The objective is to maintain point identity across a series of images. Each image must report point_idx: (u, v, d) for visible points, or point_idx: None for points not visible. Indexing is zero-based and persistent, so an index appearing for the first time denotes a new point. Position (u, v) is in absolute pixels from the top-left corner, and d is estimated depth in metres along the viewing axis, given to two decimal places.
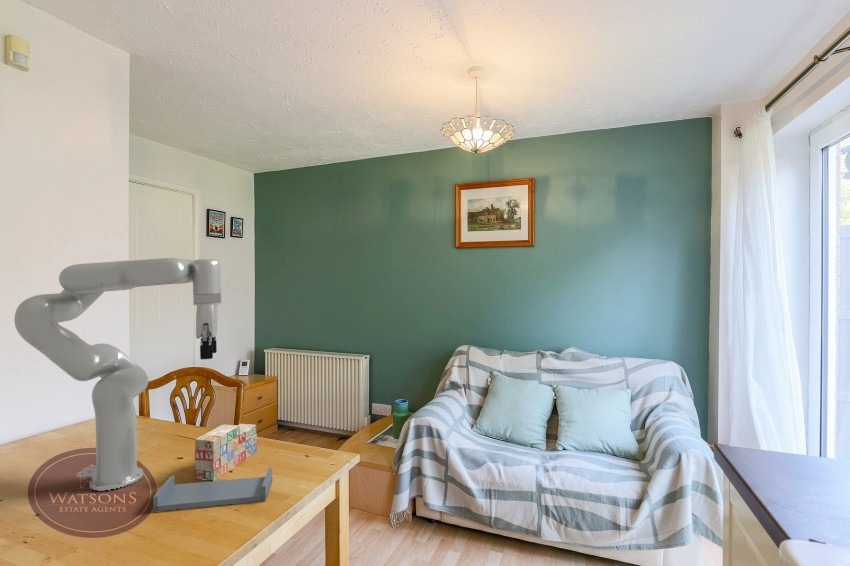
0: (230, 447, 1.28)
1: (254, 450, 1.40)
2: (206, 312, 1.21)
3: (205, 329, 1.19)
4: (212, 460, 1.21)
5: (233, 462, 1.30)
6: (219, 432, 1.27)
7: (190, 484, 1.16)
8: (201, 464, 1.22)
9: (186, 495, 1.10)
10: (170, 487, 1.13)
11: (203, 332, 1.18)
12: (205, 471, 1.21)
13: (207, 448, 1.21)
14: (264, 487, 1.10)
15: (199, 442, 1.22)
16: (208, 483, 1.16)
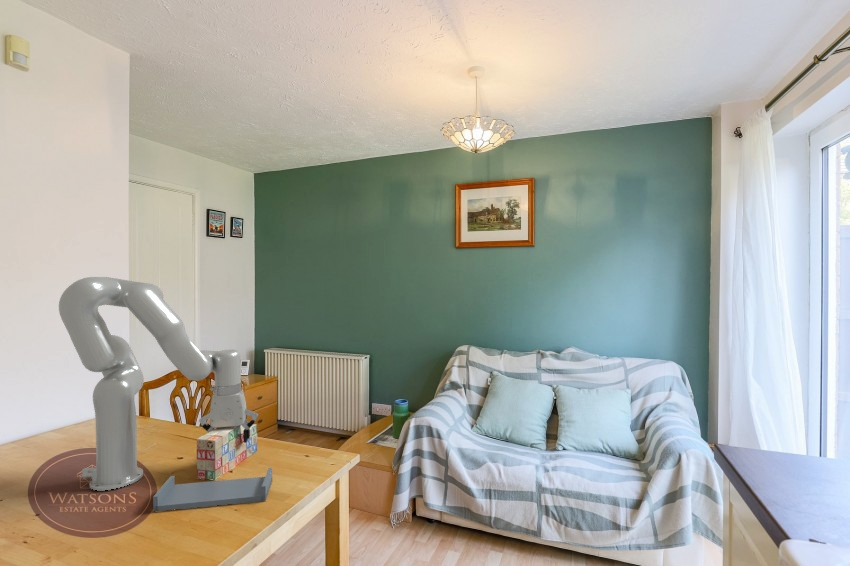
0: (231, 446, 1.28)
1: (255, 450, 1.41)
2: (244, 398, 1.33)
3: (253, 412, 1.33)
4: (214, 460, 1.21)
5: (234, 462, 1.30)
6: (220, 432, 1.27)
7: (190, 484, 1.16)
8: (203, 464, 1.22)
9: (186, 495, 1.10)
10: (170, 487, 1.13)
11: (257, 414, 1.33)
12: (207, 471, 1.22)
13: (209, 448, 1.21)
14: (264, 487, 1.10)
15: (201, 442, 1.22)
16: (208, 483, 1.16)
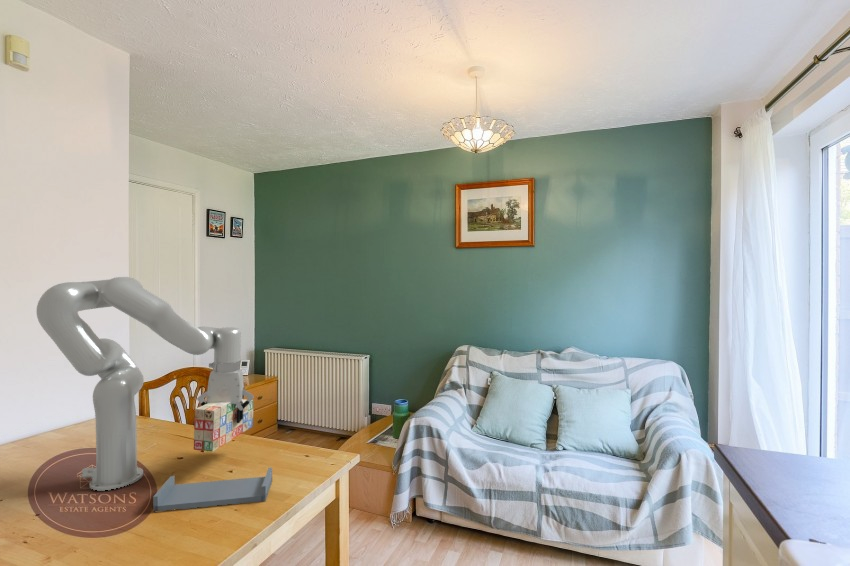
0: (228, 419, 1.28)
1: (250, 425, 1.40)
2: (242, 377, 1.32)
3: (250, 393, 1.33)
4: (212, 430, 1.21)
5: (231, 434, 1.30)
6: (219, 403, 1.27)
7: (190, 484, 1.16)
8: (200, 434, 1.21)
9: (186, 495, 1.10)
10: (170, 487, 1.13)
11: (253, 396, 1.33)
12: (204, 441, 1.21)
13: (207, 418, 1.21)
14: (264, 487, 1.10)
15: (199, 412, 1.21)
16: (208, 483, 1.16)
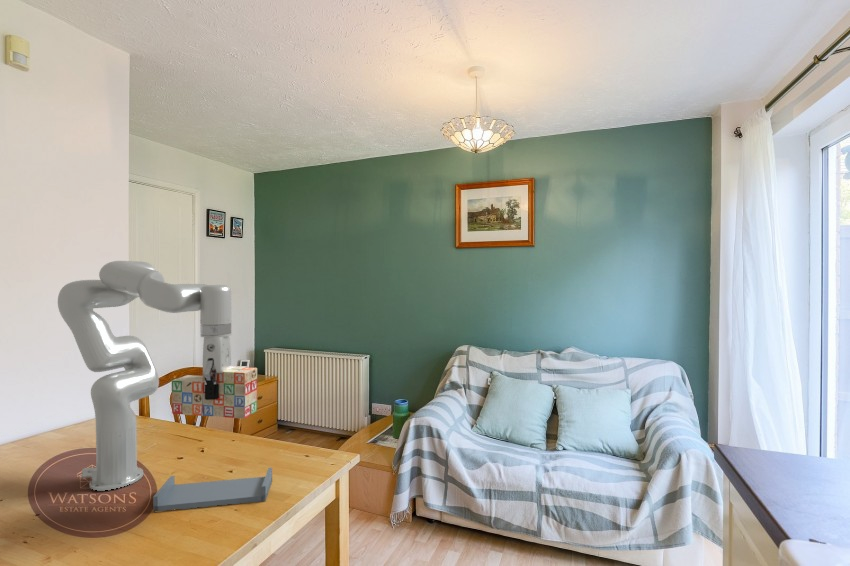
0: None
1: None
2: None
3: None
4: (256, 388, 1.14)
5: None
6: (233, 368, 1.13)
7: (190, 484, 1.16)
8: (249, 398, 1.11)
9: (186, 495, 1.10)
10: (170, 487, 1.13)
11: None
12: (251, 404, 1.12)
13: (253, 378, 1.12)
14: (264, 487, 1.10)
15: (247, 374, 1.10)
16: (208, 483, 1.16)
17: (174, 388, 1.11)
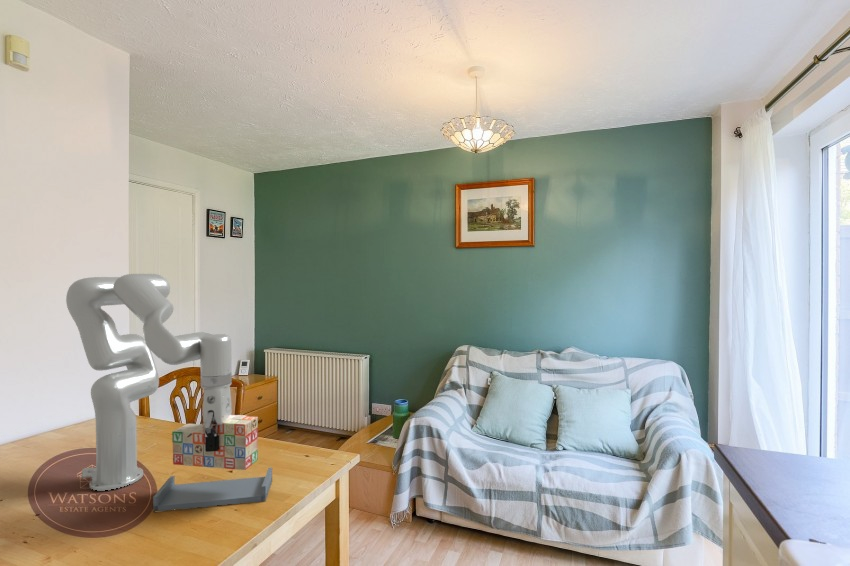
0: None
1: None
2: None
3: None
4: (257, 437, 1.14)
5: None
6: (233, 417, 1.13)
7: (190, 484, 1.16)
8: (250, 449, 1.10)
9: (186, 495, 1.10)
10: (170, 487, 1.13)
11: None
12: (252, 454, 1.12)
13: (253, 427, 1.12)
14: (264, 487, 1.10)
15: (248, 425, 1.10)
16: (208, 483, 1.16)
17: (174, 439, 1.11)
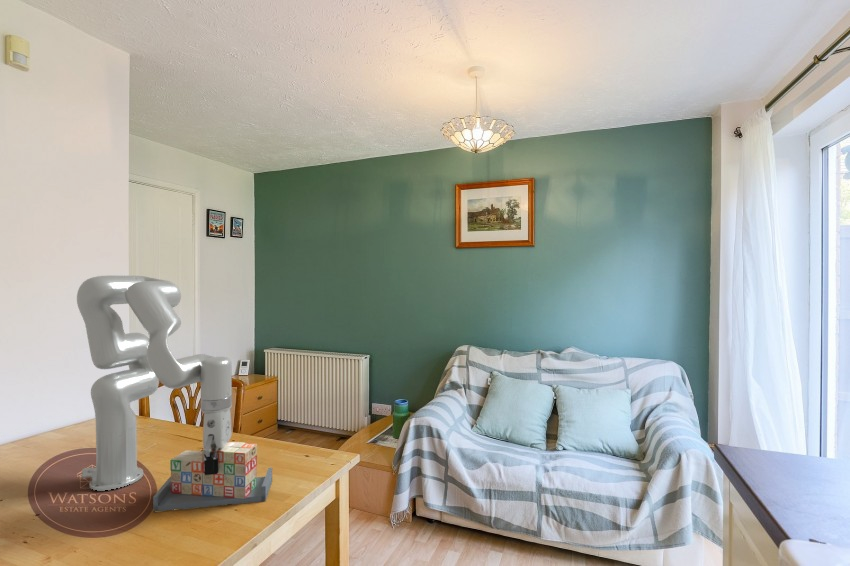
0: None
1: None
2: None
3: None
4: (256, 465, 1.14)
5: None
6: (233, 445, 1.13)
7: None
8: (249, 477, 1.11)
9: (186, 495, 1.10)
10: (170, 487, 1.13)
11: None
12: (251, 481, 1.12)
13: (253, 455, 1.13)
14: (264, 487, 1.10)
15: (248, 453, 1.10)
16: None
17: (173, 467, 1.11)
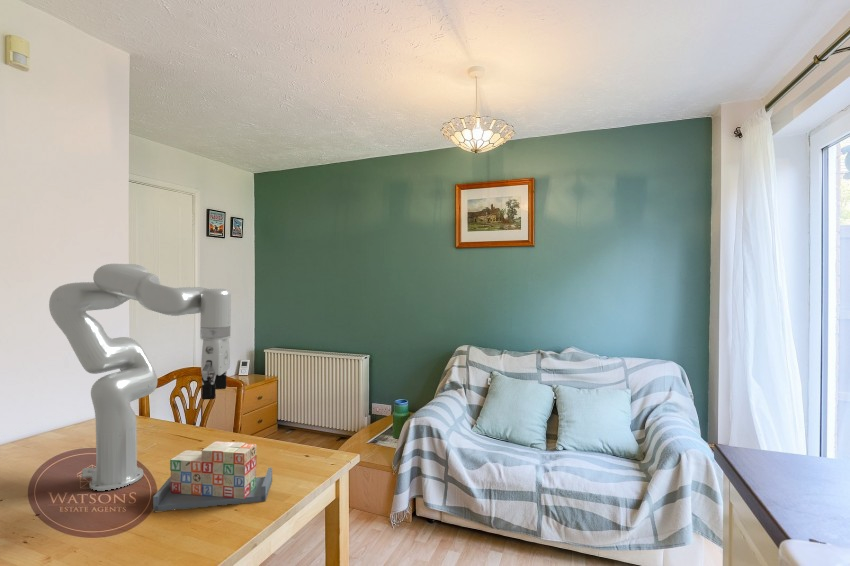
0: None
1: None
2: None
3: None
4: (255, 465, 1.14)
5: None
6: (232, 445, 1.13)
7: None
8: (249, 477, 1.11)
9: (186, 495, 1.10)
10: (170, 487, 1.13)
11: None
12: (250, 482, 1.12)
13: (252, 455, 1.13)
14: (264, 487, 1.10)
15: (247, 454, 1.10)
16: None
17: (172, 467, 1.11)
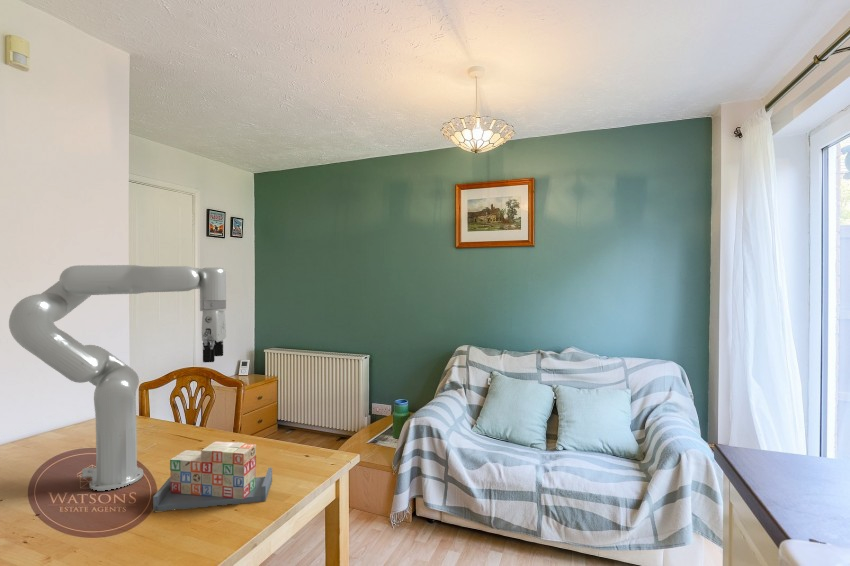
0: None
1: None
2: None
3: None
4: (255, 465, 1.14)
5: None
6: (232, 445, 1.13)
7: None
8: (248, 477, 1.11)
9: (186, 495, 1.10)
10: (170, 487, 1.13)
11: None
12: (250, 482, 1.12)
13: (252, 455, 1.12)
14: (264, 487, 1.10)
15: (246, 454, 1.10)
16: None
17: (172, 467, 1.11)
